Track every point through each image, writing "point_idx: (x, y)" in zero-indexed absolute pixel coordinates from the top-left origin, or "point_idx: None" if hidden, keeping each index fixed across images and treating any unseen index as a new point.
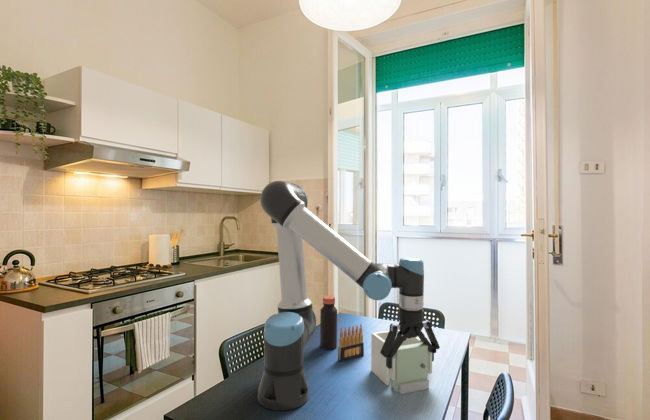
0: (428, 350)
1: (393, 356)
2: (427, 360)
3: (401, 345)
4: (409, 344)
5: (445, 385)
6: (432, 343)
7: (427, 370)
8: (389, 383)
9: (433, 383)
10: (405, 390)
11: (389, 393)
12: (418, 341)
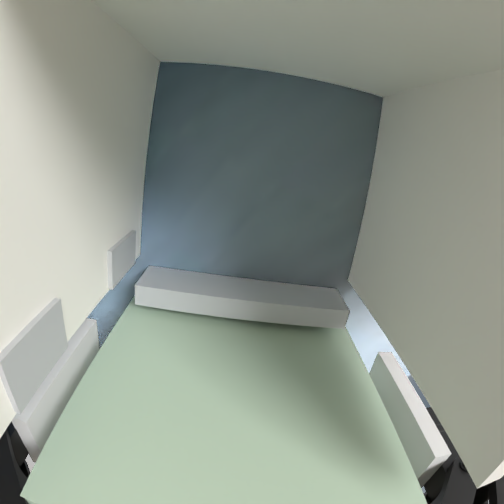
0: (439, 467)
1: (57, 429)
2: (393, 425)
3: (465, 66)
4: (502, 220)
5: (402, 366)
6: (494, 489)
7: (371, 378)
8: (136, 257)
9: (377, 337)
10: None
11: (100, 316)
12: (478, 462)
